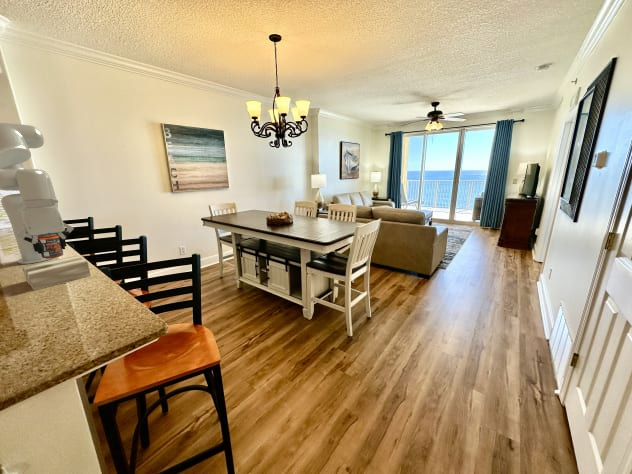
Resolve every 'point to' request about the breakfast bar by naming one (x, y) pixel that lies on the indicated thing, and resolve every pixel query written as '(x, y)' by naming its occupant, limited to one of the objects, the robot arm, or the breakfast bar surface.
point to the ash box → (56, 272)
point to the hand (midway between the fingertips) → (51, 250)
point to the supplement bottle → (50, 245)
